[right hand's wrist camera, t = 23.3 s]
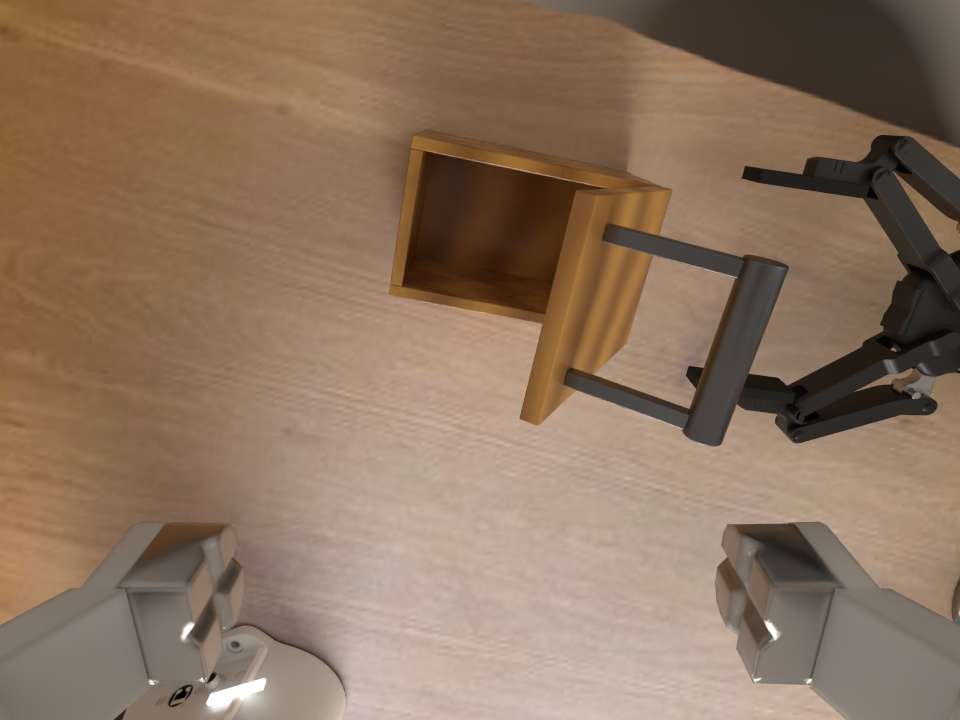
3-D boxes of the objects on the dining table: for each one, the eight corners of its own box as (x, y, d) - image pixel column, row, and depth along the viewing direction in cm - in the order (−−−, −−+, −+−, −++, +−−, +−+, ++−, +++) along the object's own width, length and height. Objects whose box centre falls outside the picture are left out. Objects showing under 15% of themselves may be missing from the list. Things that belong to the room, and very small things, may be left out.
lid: (519, 419, 26) (704, 493, 24) (575, 190, 23) (799, 245, 20) (613, 339, 39) (739, 381, 37) (657, 186, 36) (800, 219, 33)
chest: (405, 261, 48) (388, 295, 39) (425, 129, 44) (412, 134, 35) (593, 297, 49) (618, 339, 40) (627, 171, 45) (663, 186, 36)
